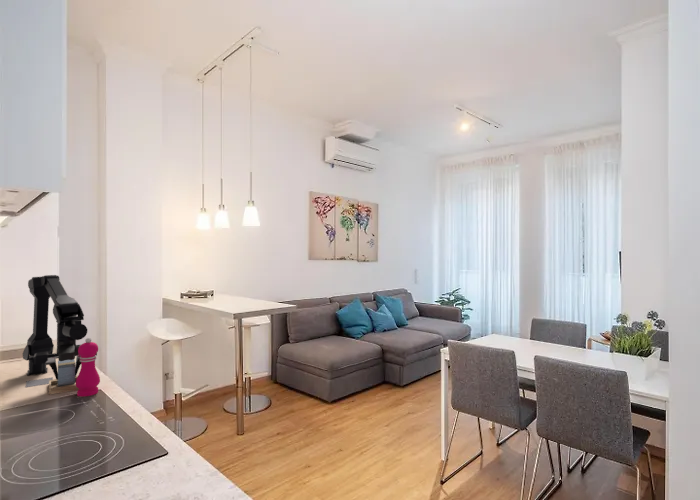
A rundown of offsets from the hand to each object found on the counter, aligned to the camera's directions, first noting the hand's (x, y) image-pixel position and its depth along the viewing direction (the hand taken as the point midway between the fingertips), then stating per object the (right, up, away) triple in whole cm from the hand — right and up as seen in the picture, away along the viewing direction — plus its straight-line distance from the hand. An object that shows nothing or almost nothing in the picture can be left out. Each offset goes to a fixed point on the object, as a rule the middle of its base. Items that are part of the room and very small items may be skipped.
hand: (66, 377), depth 145 cm
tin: (0, -3, 0) cm, 3 cm away
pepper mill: (+12, -4, -6) cm, 14 cm away
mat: (-13, -3, +4) cm, 14 cm away
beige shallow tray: (0, -4, 0) cm, 4 cm away
